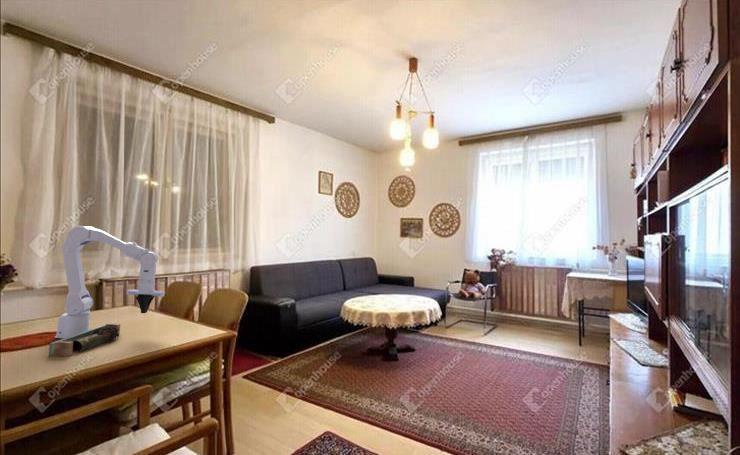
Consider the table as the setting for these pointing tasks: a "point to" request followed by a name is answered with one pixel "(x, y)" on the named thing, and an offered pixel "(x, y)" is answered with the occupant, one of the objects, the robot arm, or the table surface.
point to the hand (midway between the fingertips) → (143, 312)
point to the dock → (66, 344)
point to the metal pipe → (95, 338)
